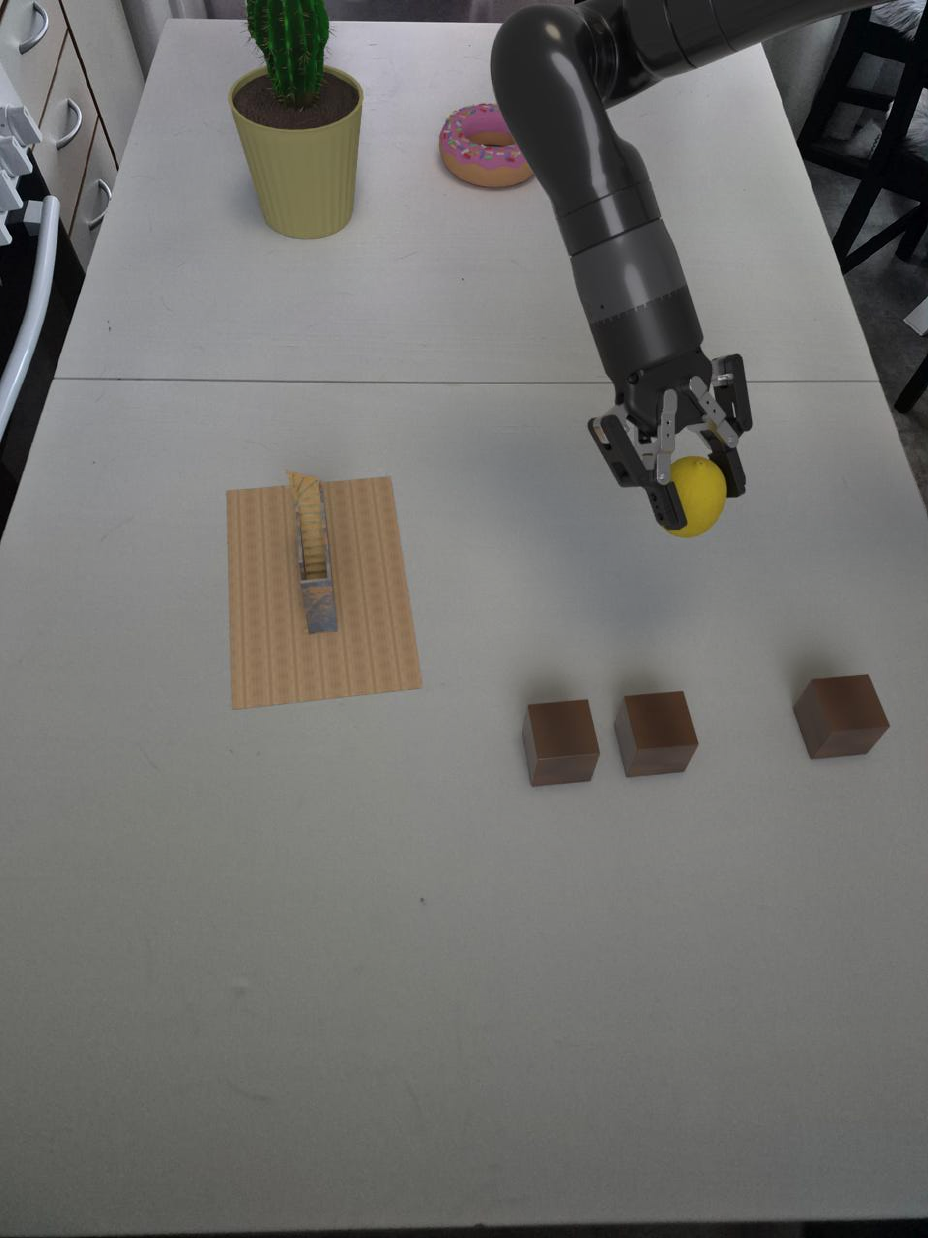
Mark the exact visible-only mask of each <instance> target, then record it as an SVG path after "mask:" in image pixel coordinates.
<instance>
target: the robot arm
mask: <svg viewBox="0 0 928 1238" xmlns="http://www.w3.org/2000/svg"><path fill="white" fill-rule="evenodd" d="M897 1H898V0H584V1H581V2H579V3H575V4H557V3H532V4H528V5H525V6H523V7H519V8H518V9H517V10H515V11H514V12H512V13H511V14H510V15H509V16H507V17H506V19H505V20H504V21H503V23H502V24H501V25H500V27H499V29H498V30H497V32H496V34H495V36H494V39H493V42H492V45H491V51H490V59H489V60H490V61H489V62H490V63H489V71H490V79H491V86H492V93H493V96H494V98H495V99H494V100H495V104H497V105H498V108H499V111H500V113H501V116H502V118H503V120H504V122H505V124H506V126H507V128H508V130H509V132H510V134H511V136H512V137H513V139H514V141H515V143H516V144H517V146H518V148H519V150H520V151H521V153H522V155H523V157H524V158H525V160H526V162H527V164H528V165H529V167H530V169H531V171H532V172H533V176H534V177H535V178H536V180H537V182H538V183H539V185H540V187H542V189H543V191H544V192H545V194H546V195H547V197H548V199H549V202H550V204H551V208H552V212H553V215H554V218H555V221H556V224H557V227H558V231H559V233H560V236H561V239H562V242H563V244H564V247H565V250H566V253H567V256H568V257H569V262H570V265H571V270H572V274H573V280H574V284H575V285H574V286H575V288H576V292H577V295H578V298H579V300H580V304H581V307H582V309H583V313H584V316H585V318H586V321H587V324H588V327H589V330H590V333H591V335H592V338H593V341H594V344H595V348H596V350H597V353H598V356H599V359H600V361H601V364H602V367H603V370H604V372H605V375H606V376H607V377H608V379H609V380H610V381H611V383H612V384H613V386H614V392H615V393H614V394H615V397H614V406H612V407H611V408H610V409H609V410H607V411H606V412H605V413H604V414H602V415H601V416H595V417H591V418H590V419H589V420H588V421H587V427H586V428H587V430H588V432H589V435H590V436H591V437H592V439H593V441H594V443H595V444H596V445H595V446H597V448H598V450H599V452H600V453H601V456H602V457H603V459H604V461H605V463H606V465H607V466H608V468H609V470H610V472H611V473H612V476H613V477H614V478H615V481H616V482H617V485H619V487H621V488H642V489H643V490H644V491H645V493H646V495H647V498H648V501H649V503H650V507H651V509H652V513H653V515H654V518H655V521H656V522H657V524H658V525H659V526H660V527H661V526H664V528H665V529H667V530H680V529H682V528H684V527H686V526H687V524H688V522H687V519H686V516H685V513H684V510H683V507H682V504H681V501H680V498H679V495H678V492H677V489H676V486H675V483H674V481H672V482H669V481H670V477H671V464H672V462H671V460H672V459H671V457H672V456H671V455H672V454H673V452H674V451H675V449H676V435H678V434H680V433H682V431H683V430H684V429H685V428H686V429H687V430H688V431H690V432H691V433H694V434H696V436H697V437H698V438H699V440H700V441H701V442H702V443H703V444H704V445H705V446H706V448H707V449H708V450H710V451H711V452H710V453H709V454H707V457H708V459H709V460H711V461H712V462H713V463H715V464H716V465H717V466H718V467H719V468H720V469H721V471H722V473H723V475H724V477H725V481H726V487H727V493H726V499H737V498H739V497H742V496H743V495H745V494H746V493H747V492H746V485H747V477H746V473H745V471H744V467H743V463H742V461H741V458H740V455H739V452H738V447H737V446H738V445H739V441H740V438H741V437H742V435H743V434H744V433H747V432H750V431H751V430H752V428H753V425H754V421H753V415H752V414H753V413H752V409H751V403H750V396H749V395H750V394H749V389H748V383H747V378H746V377H747V376H746V370H745V364H744V359H743V356H742V354H740V353H733V354H726V355H721V356H719V357H714V358H712V359H711V360H710V358H708V356H707V355H706V354H705V353H704V351H703V349H702V346H701V345H702V344H703V342H704V336H705V335H704V333H703V329H702V327H701V323H700V320H699V317H698V313H697V310H696V308H695V305H694V301H693V297H692V294H691V292H690V288H689V285H688V282H687V278H686V276H685V273H684V269H683V266H682V263H681V260H680V257H679V254H678V251H677V249H676V245H675V243H674V241H673V239H672V237H671V235H670V232H669V230H668V229H667V227H666V223H665V221H664V219H663V218H662V216H663V215H662V213H661V210H660V206H659V203H658V200H657V196H656V193H655V190H654V187H653V185H652V181H651V177H650V175H649V171H648V169H647V167H646V164H645V161H644V159H643V156H642V155H641V153H640V151H639V150H638V148H637V147H636V146H634V145H633V144H632V143H630V142H629V141H627V140H625V139H623V138H622V137H621V136H619V135H618V133H617V132H616V130H615V128H614V126H613V123H612V121H611V118H610V117H609V115H608V112H607V110H609V109H613V107H616V106H617V105H620V104H622V103H624V102H626V101H629V100H630V99H631V98H634V97H635V96H638V95H639V94H642V93H643V92H645V91H646V90H649V89H650V88H653V87H654V86H656V85H657V84H659V83H661V82H662V81H664V80H666V79H669V78H672V77H677V76H679V75H683V74H686V73H688V72H691V71H694V70H697V69H699V68H702V67H705V66H707V65H709V64H713V63H715V62H717V61H719V60H722V59H724V58H727V57H729V56H731V55H734V54H737V53H739V52H741V51H744V50H746V49H748V48H752V47H753V46H756V45H758V44H760V43H762V42H765V41H768V40H770V39H772V38H775V37H778V36H781V35H783V34H786V33H789V32H792V31H794V30H797V29H800V28H803V27H805V26H809V25H812V24H815V23H817V22H821V21H823V20H827V19H831V18H834V17H838V16H841V15H844V14H848V13H852V12H856V11H860V10H864V9H867V8H872V7H876V6H880V5H884V4H889V3H892V2H897ZM711 385H712V386H713V392H714V397H713V396H712V394H711V393H710V389H711ZM627 421H628V422H629V423H631V424H632V425H633V442H632V441H631V439H630V437H629V435H628V433H629V431H630V426H629V425H627ZM652 438H653V439H656V440H655V441H654V442H653V441H652ZM665 529H664V530H665Z"/></svg>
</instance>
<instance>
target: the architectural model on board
mask: <svg viewBox="0 0 928 1238" xmlns="http://www.w3.org/2000/svg"><path fill="white" fill-rule="evenodd" d="M284 472H285V474H288V485H279V486H267V487H256V488H244V489H234V490H226V523H227V524H226V525H227V566H228V605H229V606H228V607H229V638H230V639H229V651H230V689H231V691H230V693H231V710H241V709H251V708H257V707H259V708H260V707H266V706H276V705H277V706H278V705H283V704H293V703H301V702H302V703H303V702H310V701H319V700H327V699H328V700H329V699H338V698H346V697H355V696H361V695H362V696H363V695H372V694H380V693H388V692H397V691H406V690H407V691H408V690H415V689H423V688H424V686H423V680H422V673H421V666H420V659H419V653H418V647H417V646H418V645H417V641H416V634H415V633H416V632H415V627H414V620H413V613H412V607H411V601H410V595H409V588H408V587H409V586H408V581H407V575H406V567H405V561H404V556H403V549H402V542H401V535H400V530H399V522H398V516H397V509H396V502H395V495H394V488H393V483H392V477H391V476H382V477H381V476H380V477H371V478H370V477H369V478H359V479H348V480H347V479H346V480H335V481H323V480H319V477H318V476H315V475H309V474H303V473H299V472H295V471H291V470H288V469H287V470H284Z"/></svg>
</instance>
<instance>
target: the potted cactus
mask: <svg viewBox="0 0 928 1238" xmlns="http://www.w3.org/2000/svg"><path fill="white" fill-rule="evenodd" d="M243 1H244V2H246V4H245V5H244V4H241V3H238V6H242V7H243V8H244V10H242V12H243V13H241V14H240V15H239V16H244V15H245V14H246V16H244V18H245V19H244V21H246V22H244V23H243V22H242V21H241V22H240V24H242V25H241V27H244V28H247V29H245V30H243V31H240V32H239V34H240V33H244V32H249V35H250V36H248V37H247V38H248V40H247V41H246V43H245V45H244V47H246V45H247V46H248V45H249V44H250V45H255V48H254V50H253V51H252V53H254V52H255V51H256V54H255V55H258V52H259V51H261V52H262V54H263V55H260V56H258V57H256V59H259V61H262V62H261V64H260V65H262V64H263V63H265V65H264V66H260V67H257V68H256V69H253V70H251V71H249V72H247V73H245V74H243V75H242V76H241V77H240V78H238V79H236V81H235V82H234V83H233V84H232V86H231V87H230V89H229V92H228V100H227V101H228V104H229V106H230V111H231V115H232V118H233V121H234V124H235V127H236V131H237V134H238V137H239V141H240V143H241V147H242V151H243V153H244V156H245V161H246V163H247V166H248V169H249V174H250V177H251V180H252V183H253V186H254V189H255V193H256V196H257V198H258V202H259V206H260V209H261V212H262V215H263V218H264V220H265V222H266V224H267V225H268V226H269V228H271V230H273V231H275V232H277V233H278V234H280V235H283V236H286V237H289V238H294V239H300V240H301V239H303V240H309V239H312V240H313V239H319V238H325V237H327V236H331V235H334V234H335V233H338V232H340V231H341V230H342V229H344V228H345V227H346V226H347V225H348V223H349V222H350V221H351V218H352V216H353V215H352V214H353V211H354V200H355V192H356V191H355V189H356V179H357V168H358V159H359V158H358V157H359V147H360V146H359V145H360V137H361V123H362V115H363V102H364V99H365V98H364V97H365V96H364V90H363V88H362V86H361V84H360V83H359V82H358V81H357V80H356V79H355V78H354V77H353V76H352V75H350V74H349V73H348V72H345V71H343V70H341V69H339V68H336V67H333V66H331V65H326V64H324V62H326V63H328V61H326V60H330V59H331V57H325V56H326V54H325V51H326V52H327V53H329V55H331V56H333V54H332V53H331V52H329V50H330V47H328V46H327V44H329V43H328V42H330V40H329V39H330V34H331V35H332V36H334V37H336V38H337V36H336V35H335V34H334V33H333V32H332V31H334V32H337V30H335V29H333V28H334V26H332V25H331V23H330V20H331V19H333V17H335V15H336V14H333V11H332V9H334V8H335V7H334V8H329V9H326V8H325V0H243ZM242 7H240V9H242ZM330 10H331V11H330ZM334 10H335V9H334ZM328 11H330V12H329V13H327V12H328ZM330 14H331V15H330ZM332 14H333V16H332ZM239 16H238V17H239ZM330 27H332V28H330ZM337 33H338V32H337ZM251 40H255V42H251ZM250 42H251V43H250ZM244 47H243V48H244ZM256 49H257V50H256ZM260 58H261V59H260ZM262 58H263V60H262Z"/></svg>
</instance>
